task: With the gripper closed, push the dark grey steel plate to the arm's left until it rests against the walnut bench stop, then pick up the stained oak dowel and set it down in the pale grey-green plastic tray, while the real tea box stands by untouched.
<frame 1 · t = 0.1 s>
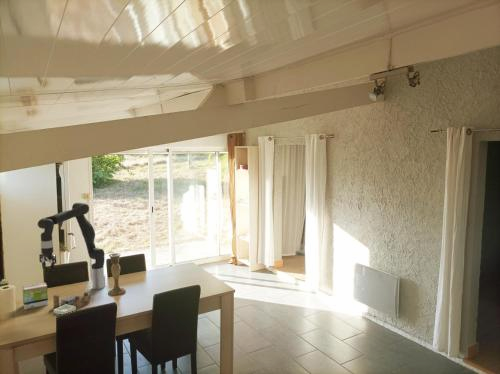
hand: (48, 268, 259), 29 cm above the table, fingers open, 8 cm apart
tea box: (35, 305, 267), on the table
bench stop: (82, 305, 266), on the table
plate: (70, 303, 271), on the table
tray: (65, 311, 255), on the table
dowel: (56, 307, 262), on the table
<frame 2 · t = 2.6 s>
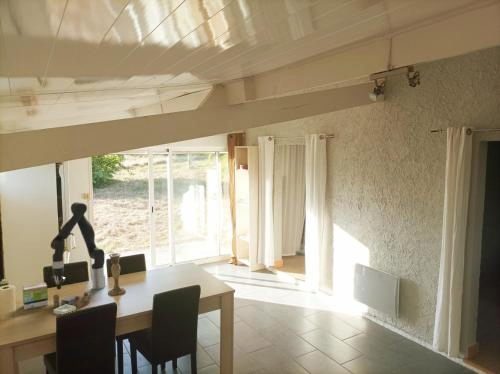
hand: (58, 289, 274), 9 cm above the table, fingers closed
nothing on the table moved.
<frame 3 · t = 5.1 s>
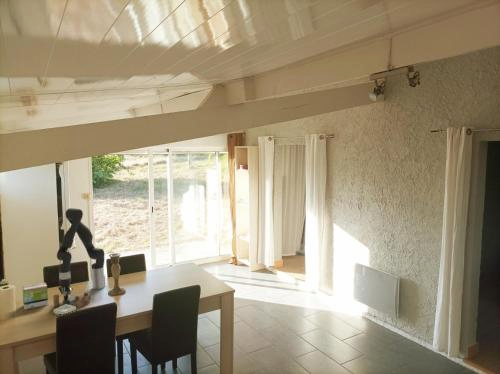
hand: (66, 299, 272), 2 cm above the table, fingers closed
plate: (71, 303, 271), on the table, touching gripper
everything else where it was.
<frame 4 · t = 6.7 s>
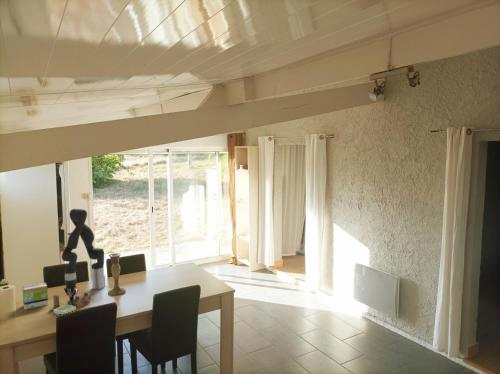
hand: (71, 301, 270), 2 cm above the table, fingers closed
plate: (77, 304, 268), on the table, touching bench stop
everything else where it was.
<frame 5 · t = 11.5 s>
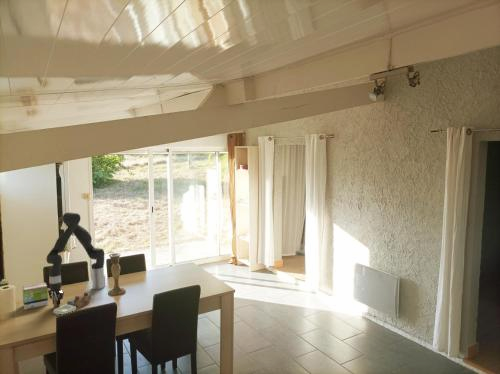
hand: (56, 304, 262), 2 cm above the table, fingers closed on dowel, 3 cm apart
plate: (77, 304, 268), on the table
dowel: (56, 307, 262), on the table, touching gripper
everything else where it was.
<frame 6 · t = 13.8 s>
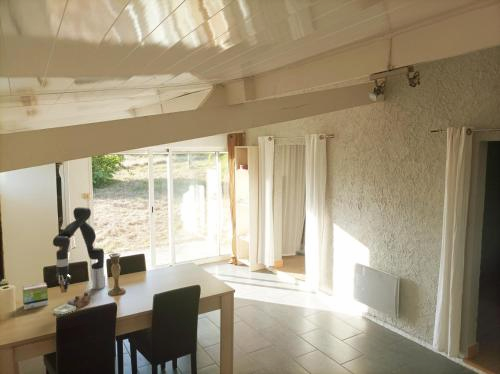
hand: (63, 288, 254), 17 cm above the table, fingers closed on dowel, 3 cm apart
dowel: (64, 291, 254), point 14 cm above the table, touching gripper
everything else where it was.
when the fingers open (4 cm above the table, at t = 16.3 s): dowel drops 1 cm, resting on tray.
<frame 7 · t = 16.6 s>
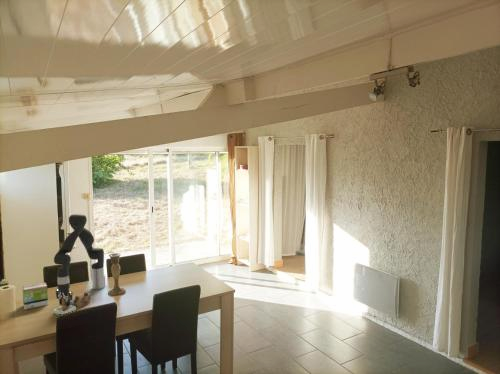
hand: (64, 305, 255), 5 cm above the table, fingers open, 6 cm apart
dowel: (65, 310, 255), point 1 cm above the table, touching tray
everything else where it was.
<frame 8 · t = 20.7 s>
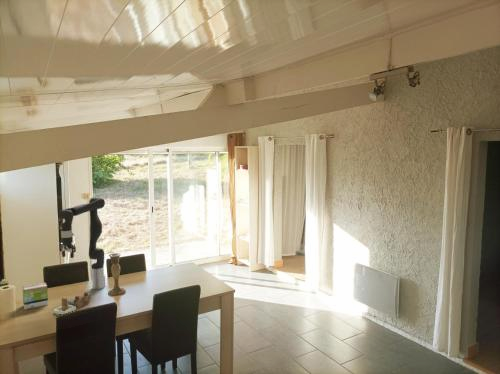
hand: (67, 257, 274), 33 cm above the table, fingers open, 8 cm apart
nothing on the table moved.
at the end: plate inside the target area (0.3 cm from its centre), on the table; dowel inside the target area on the tray (0.0 cm from its centre), point 0.6 cm above the tray's base; the gripper is holding nothing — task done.
